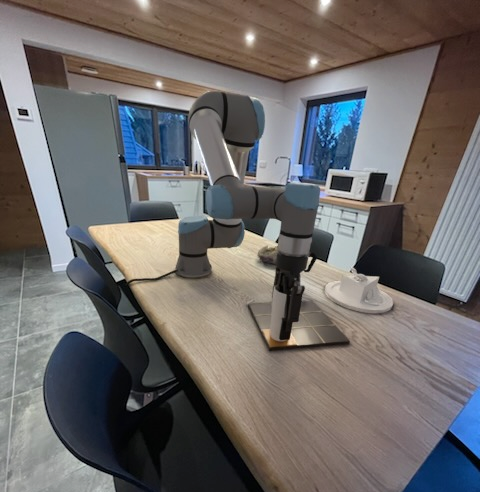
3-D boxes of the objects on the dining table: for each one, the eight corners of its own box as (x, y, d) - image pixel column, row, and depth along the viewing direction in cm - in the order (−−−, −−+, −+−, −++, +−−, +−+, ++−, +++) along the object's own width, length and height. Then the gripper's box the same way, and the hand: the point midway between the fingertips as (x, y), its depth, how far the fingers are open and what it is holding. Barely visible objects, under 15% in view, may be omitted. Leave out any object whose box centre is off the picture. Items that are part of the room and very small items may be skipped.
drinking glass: (276, 346, 70) (283, 296, 64) (262, 332, 75) (268, 285, 69) (296, 340, 73) (305, 292, 67) (281, 327, 78) (289, 281, 72)
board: (269, 350, 70) (270, 347, 70) (248, 305, 91) (248, 302, 91) (349, 343, 75) (350, 340, 75) (311, 302, 96) (312, 299, 96)
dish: (358, 318, 89) (367, 288, 84) (312, 286, 109) (317, 261, 104) (407, 307, 98) (418, 279, 93) (356, 280, 119) (363, 256, 114)
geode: (253, 270, 134) (280, 273, 126) (248, 255, 129) (276, 257, 121) (267, 251, 144) (292, 253, 136) (263, 236, 139) (290, 237, 131)
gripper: (326, 266, 56) (307, 352, 66) (292, 241, 72) (281, 313, 82) (293, 266, 54) (278, 355, 64) (266, 240, 71) (258, 314, 81)
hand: (280, 331), depth 73 cm, fingers closed on drinking glass, 6 cm apart
